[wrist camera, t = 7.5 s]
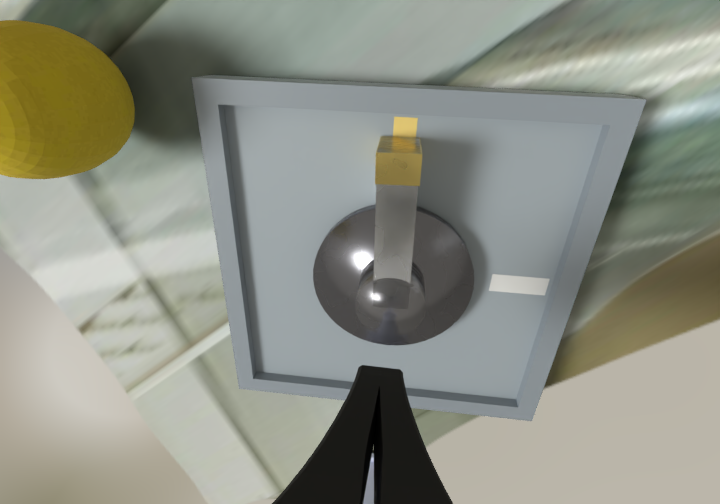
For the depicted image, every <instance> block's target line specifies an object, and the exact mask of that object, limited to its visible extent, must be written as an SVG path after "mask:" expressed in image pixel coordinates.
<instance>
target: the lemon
mask: <svg viewBox="0 0 720 504" xmlns="http://www.w3.org/2000/svg"><path fill="white" fill-rule="evenodd" d="M134 116H135V107H134V101H133V96H132V93H131V91H130V88H129V86H128V83H127V81H126V79H125V78H124V76H123V75H122V73H121V72H120V70H119V68H118V67H117V66H116V65H115V64H114V63H113V62H112V61H111V60H110V59H109V58H108V56H107V55H105V54H104V53H103V52H102V51H101V50H99V49H98V48H96V47H95V46H94V45H92V44H91V43H90V42H88V41H86V40H85V39H83V38H81V37H78V36H76V35H74V34H72V33H69V32H67V31H65V30H62V29H60V28H57V27H53V26H49V25H44V24H38V23H32V22H26V21H17V20H6V21H0V174H1V175H5V176H9V177H16V178H29V179H49V178H58V177H64V176H69V175H73V174H77V173H81V172H85V171H88V170H91V169H93V168H95V167H97V166H99V165H100V164H102V163H104V162H105V161H107V160H108V159H110V158H111V157H113V156H114V155H115V154H117V153H118V152H119V150H120V149H121V148H122V147H123V145H124V144H125V143H126V142H127V140H128V138H129V137H130V134H131V131H132V128H133V125H134Z"/></svg>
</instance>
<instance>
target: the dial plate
mask: <svg viewBox="0 0 720 504" xmlns="http://www.w3.org/2000/svg"><path fill="white" fill-rule="evenodd" d="M191 79H192V85H193V92H194V98H195V105H196V111H197V118H198V124H199V131H200V137H201V144H202V150H203V157H204V163H205V170H206V176H207V183H208V189H209V196H210V202H211V209H212V215H213V222H214V228H215V235H216V241H217V248H218V254H219V261H220V267H221V274H222V280H223V287H224V293H225V300H226V306H227V313H228V319H229V326H230V332H231V339H232V345H233V352H234V358H235V364H236V371H237V377H238V384H239V389H247V390H256V391H265V392H274V393H283V394H292V395H301V396H310V397H319V398H328V399H337V400H346V398H347V396H348V394H349V391H350V389H351V387H352V385H353V382H354V380H355V377H356V374H357V371H358V367H360V366H361V365H367V366H376V367H384V368H393V369H400V370H401V371H402V372H403V378H404V384H405V388H406V393H407V396H408V400H409V403H410V407H411V408H418V409H427V410H436V411H445V412H454V413H463V414H472V415H481V416H490V417H499V418H508V419H517V420H527V421H532V419H533V416H534V413H535V411H536V408H537V405H538V402H539V400H540V396H541V394H542V391H543V388H544V386H545V383H546V380H547V377H548V374H549V372H550V369H551V366H552V363H553V360H554V358H555V355H556V352H557V349H558V346H559V344H560V341H561V338H562V335H563V332H564V330H565V327H566V324H567V321H568V318H569V316H570V313H571V310H572V307H573V304H574V302H575V299H576V296H577V293H578V290H579V288H580V285H581V282H582V279H583V276H584V274H585V271H586V268H587V265H588V262H589V260H590V257H591V254H592V251H593V248H594V245H595V243H596V240H597V237H598V234H599V231H600V229H601V226H602V223H603V220H604V217H605V215H606V212H607V209H608V206H609V203H610V201H611V198H612V195H613V192H614V189H615V187H616V184H617V181H618V178H619V175H620V173H621V170H622V167H623V164H624V161H625V159H626V156H627V153H628V150H629V147H630V145H631V142H632V139H633V136H634V133H635V131H636V128H637V125H638V122H639V119H640V117H641V114H642V111H643V108H644V105H645V103H646V100H647V99H642V98H638V97H633V96H629V95H624V94H605V93H584V92H563V91H542V90H520V89H499V88H478V87H457V86H436V85H414V84H393V83H372V82H351V81H330V80H308V79H287V78H266V77H245V76H224V75H206V76H199V77H193V78H191ZM381 136H394V137H420V140H421V147H422V166H421V178H420V186H418V196H417V206H418V207H421V208H424V209H426V210H429V211H431V212H433V213H435V214H437V215H438V216H440V217H441V218H443V219H444V220H446V221H447V222H448V223H449V224H450V225H451V226H452V227H453V228H454V229H455V230H456V231H457V232H458V233H459V235H460V236H461V237H462V239H463V241H464V242H465V244H466V246H467V249H468V251H469V254H470V257H471V260H472V264H473V269H474V289H473V293H472V297H471V299H470V302H469V304H468V306H467V308H466V310H465V311H464V313H463V314H462V315H461V317H460V318H459V319H458V320H457V321H456V322H455V323H454V324H453V325H452V326H451V327H450V328H448V329H447V330H446V331H444V332H443V333H441V334H439V335H437V336H435V337H433V338H431V339H428V340H426V341H422V342H419V343H415V344H409V345H383V344H377V343H373V342H369V341H366V340H363V339H360V338H358V337H356V336H354V335H352V334H350V333H348V332H347V331H345V330H344V329H342V328H341V327H340V326H338V325H337V324H336V323H335V322H334V321H333V320H332V319H331V318H330V317H329V316H328V314H327V313H326V312H325V311H324V309H323V307H322V306H321V304H320V302H319V300H318V297H317V295H316V292H315V288H314V282H313V268H314V262H315V258H316V255H317V252H318V250H319V248H320V245H321V244H322V242H323V240H324V238H325V236H326V235H327V234H328V232H329V231H330V229H331V228H332V227H333V226H334V225H335V224H336V223H337V222H339V221H340V220H341V219H343V218H344V217H345V216H347V215H349V214H350V213H352V212H354V211H356V210H359V209H361V208H363V207H367V206H371V205H374V204H376V184H375V164H376V150H377V147H378V144H379V140H380V137H381Z"/></svg>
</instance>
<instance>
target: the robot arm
mask: <svg viewBox="0 0 720 504" xmlns="http://www.w3.org/2000/svg"><path fill="white" fill-rule="evenodd" d="M373 444H374V453H372V450H373ZM272 504H453V503H452V501H451V499H450V497H449V495H448V493H447V492H446V490H445V488H444V486H443V484H442V482H441V480H440V478H439V476H438V474H437V472H436V470H435V468H434V466H433V464H432V462H431V459H430V457H429V455H428V452H427V450H426V448H425V445H424V443H423V440H422V438H421V435H420V433H419V430H418V427H417V424H416V422H415V419H414V416H413V413H412V410H411V407H410V403H409V400H408V396H407V393H406V388H405V384H404V378H403V372H402V371H401V370H400V369H393V368H384V367H376V366H367V365H361V366H360V367H358V371H357V374H356V377H355V380H354V382H353V385H352V387H351V389H350V391H349V394H348V396H347V398H346V400H345V402H344V404H343V405H342V407H341V409H340V411H339V413H338V415H337V417H336V418H335V420H334V422H333V423H332V425H331V427H330V428H329V430H328V431H327V433H326V435H325V436H324V438H323V439H322V441H321V442H320V444H319V445H318V447H317V448H316V450H315V451H314V453H313V454H312V455H311V457H310V458H309V459H308V461H307V462H306V464H305V465H304V466H303V468H302V469H301V470H300V471H299V473H298V474H297V475H296V476H295V478H294V479H293V480H292V481H291V483H290V484H289V485H288V486H287V487H286V489H285V490H284V491H283V492H282V493H281V494H280V496H279V497H278V498H277V499H276V500H275V501H274V502H273V503H272Z"/></svg>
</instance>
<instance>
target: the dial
mask: <svg viewBox="0 0 720 504" xmlns="http://www.w3.org/2000/svg"><path fill="white" fill-rule="evenodd" d="M421 166H422V147H421V140H420V137H394V136H381V137H380V140H379V144H378V147H377V150H376V164H375V184H376V204H374V205H371V206H367V207H363V208H361V209H359V210H356V211H354V212H352V213H350V214H349V215H347V216H345V217H344V218H343V219H341V220H340V221H339V222H337V223H336V224H335V225H334V226H333V227H332V228H331V229H330V231H329V232H328V234H327V235H326V236H325V238H324V240H323V242H322V244H321V245H320V248H319V250H318V252H317V255H316V258H315V262H314V268H313V282H314V288H315V292H316V295H317V297H318V300H319V302H320V304H321V306H322V307H323V309H324V311H325V312H326V313H327V314H328V316H329V317H330V318H331V319H332V320H333V321H334V322H335V323H336V324H337V325H338V326H340V327H341V328H342V329H344V330H345V331H347V332H348V333H350V334H352V335H354V336H356V337H358V338H360V339H363V340H366V341H369V342H373V343H377V344H383V345H409V344H415V343H419V342H422V341H426V340H428V339H431V338H433V337H435V336H437V335H439V334H441V333H443V332H444V331H446V330H447V329H448V328H450V327H451V326H452V325H453V324H454V323H455V322H456V321H457V320H458V319H459V318H460V317H461V315H462V314H463V313H464V311H465V310H466V308H467V306H468V304H469V302H470V299H471V297H472V293H473V289H474V269H473V264H472V260H471V257H470V254H469V251H468V249H467V246H466V244H465V242H464V241H463V239H462V237H461V236H460V235H459V233H458V232H457V231H456V230H455V229H454V228H453V227H452V226H451V225H450V224H449V223H448V222H447V221H446V220H444V219H443V218H441V217H440V216H438V215H437V214H435V213H433V212H431V211H429V210H426V209H424V208H421V207H418V206H417V196H418V186H420V178H421Z"/></svg>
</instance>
